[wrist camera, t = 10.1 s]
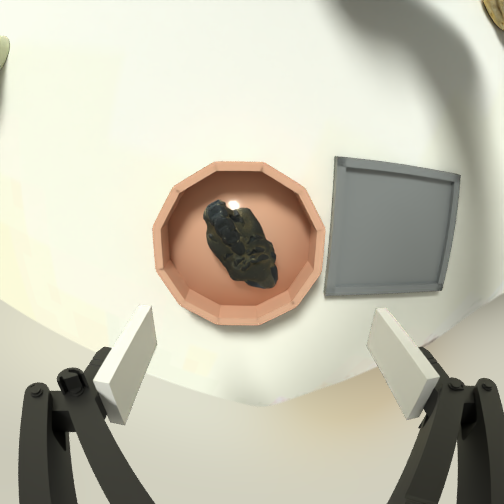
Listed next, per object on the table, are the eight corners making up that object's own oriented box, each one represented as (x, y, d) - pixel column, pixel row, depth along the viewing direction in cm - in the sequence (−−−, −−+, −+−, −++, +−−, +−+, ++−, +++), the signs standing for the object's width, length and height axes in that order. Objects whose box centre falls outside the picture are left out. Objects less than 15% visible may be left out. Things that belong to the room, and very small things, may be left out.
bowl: (160, 163, 35) (149, 163, 31) (320, 164, 35) (329, 165, 31) (168, 307, 41) (161, 322, 37) (309, 309, 41) (315, 324, 37)
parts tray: (334, 156, 35) (337, 156, 34) (455, 174, 35) (460, 175, 34) (323, 291, 40) (325, 295, 39) (438, 287, 41) (441, 290, 40)
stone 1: (248, 296, 40) (249, 317, 35) (189, 215, 36) (181, 226, 31) (291, 270, 39) (298, 288, 34) (235, 185, 35) (234, 190, 30)
